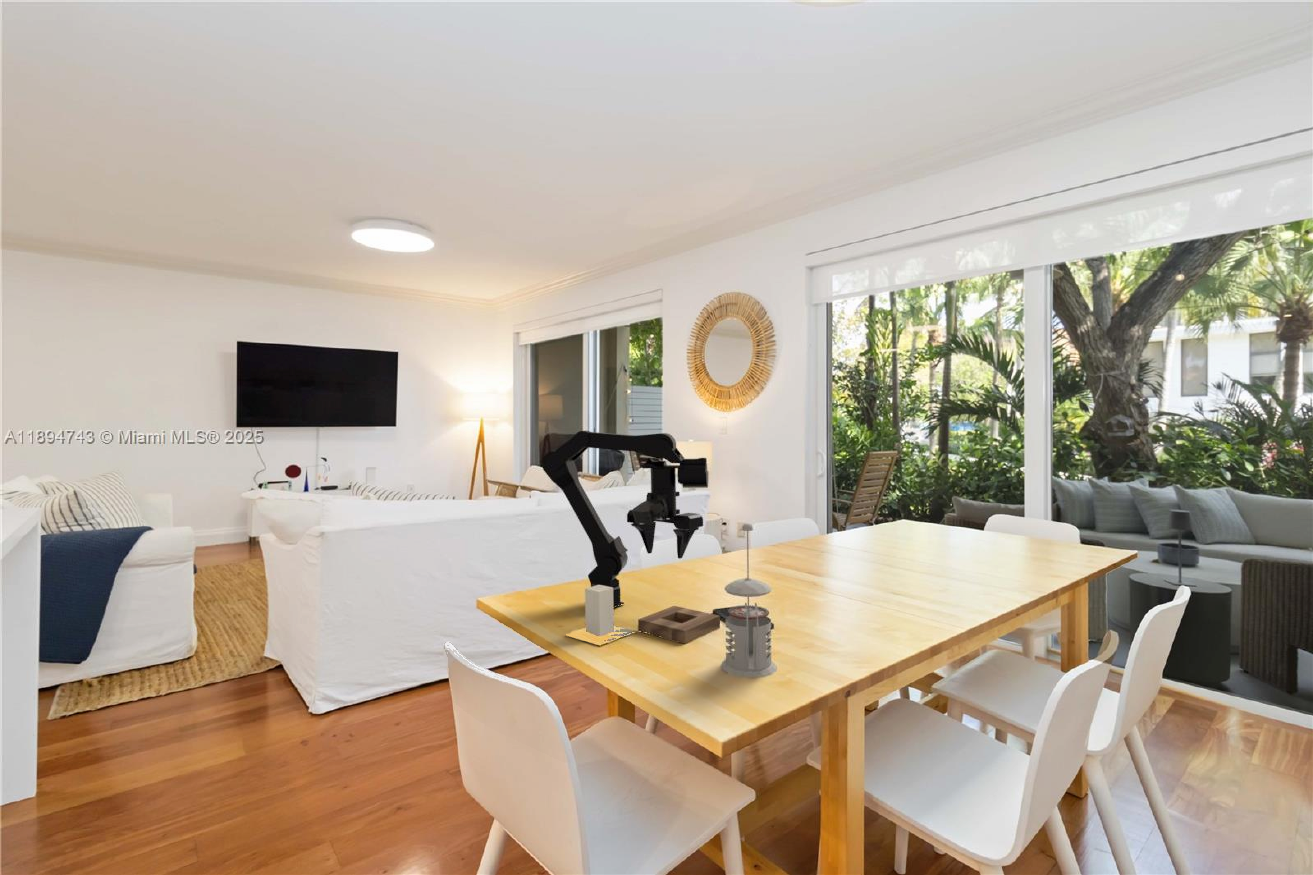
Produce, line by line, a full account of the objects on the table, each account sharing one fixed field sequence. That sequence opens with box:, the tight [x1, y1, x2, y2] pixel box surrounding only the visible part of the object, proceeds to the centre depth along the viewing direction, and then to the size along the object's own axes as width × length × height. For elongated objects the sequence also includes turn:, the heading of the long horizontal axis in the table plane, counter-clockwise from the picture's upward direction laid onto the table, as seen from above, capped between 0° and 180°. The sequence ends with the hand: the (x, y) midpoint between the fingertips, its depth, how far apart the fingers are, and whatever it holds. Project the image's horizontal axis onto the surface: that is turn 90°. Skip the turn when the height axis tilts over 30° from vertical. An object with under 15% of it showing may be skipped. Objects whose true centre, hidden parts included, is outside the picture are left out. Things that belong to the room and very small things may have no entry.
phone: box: [712, 606, 775, 630], centre depth 136 cm, size 8×1×15 cm
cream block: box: [584, 585, 615, 636], centre depth 128 cm, size 4×4×9 cm
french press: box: [720, 523, 778, 679], centre depth 109 cm, size 10×12×25 cm
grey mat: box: [604, 625, 636, 641], centre depth 128 cm, size 10×10×1 cm
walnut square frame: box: [637, 605, 721, 645], centre depth 130 cm, size 12×12×2 cm
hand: (664, 555), depth 145 cm, fingers open, 9 cm apart
